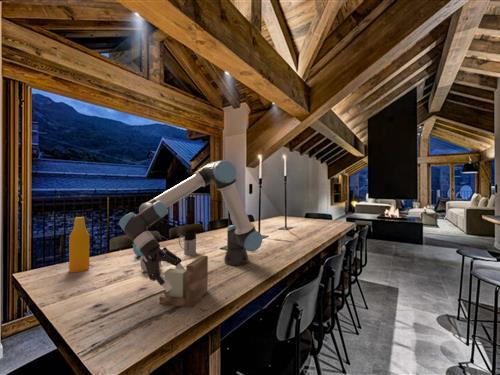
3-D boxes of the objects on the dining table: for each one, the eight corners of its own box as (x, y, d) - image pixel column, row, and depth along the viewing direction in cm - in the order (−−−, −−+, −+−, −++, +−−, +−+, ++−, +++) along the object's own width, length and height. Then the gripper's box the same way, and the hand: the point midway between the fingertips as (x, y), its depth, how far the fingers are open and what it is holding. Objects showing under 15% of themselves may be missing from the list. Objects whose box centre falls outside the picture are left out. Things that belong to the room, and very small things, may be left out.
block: (163, 301, 96) (163, 272, 95) (169, 296, 101) (170, 268, 100) (181, 304, 94) (181, 274, 94) (187, 298, 99) (187, 269, 99)
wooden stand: (159, 303, 95) (159, 263, 94) (178, 287, 109) (178, 253, 109) (192, 307, 91) (192, 266, 91) (207, 291, 106) (207, 255, 105)
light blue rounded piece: (152, 258, 151) (152, 242, 151) (129, 259, 148) (129, 243, 148) (155, 252, 164) (155, 238, 164) (135, 253, 161) (135, 238, 161)
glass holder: (199, 253, 164) (199, 231, 164) (183, 258, 152) (183, 235, 152) (190, 251, 169) (190, 230, 169) (174, 255, 157) (174, 233, 157)
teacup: (153, 274, 124) (153, 259, 124) (135, 273, 126) (135, 258, 126) (167, 265, 138) (167, 252, 138) (151, 264, 140) (151, 251, 140)
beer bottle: (91, 269, 131) (91, 217, 130) (70, 273, 124) (70, 219, 124) (87, 265, 137) (87, 215, 137) (67, 269, 130) (67, 217, 130)
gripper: (159, 243, 113) (187, 277, 110) (119, 258, 89) (154, 302, 86) (169, 232, 112) (197, 266, 109) (132, 245, 88) (167, 290, 85)
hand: (178, 282), depth 97 cm, fingers open, 13 cm apart
